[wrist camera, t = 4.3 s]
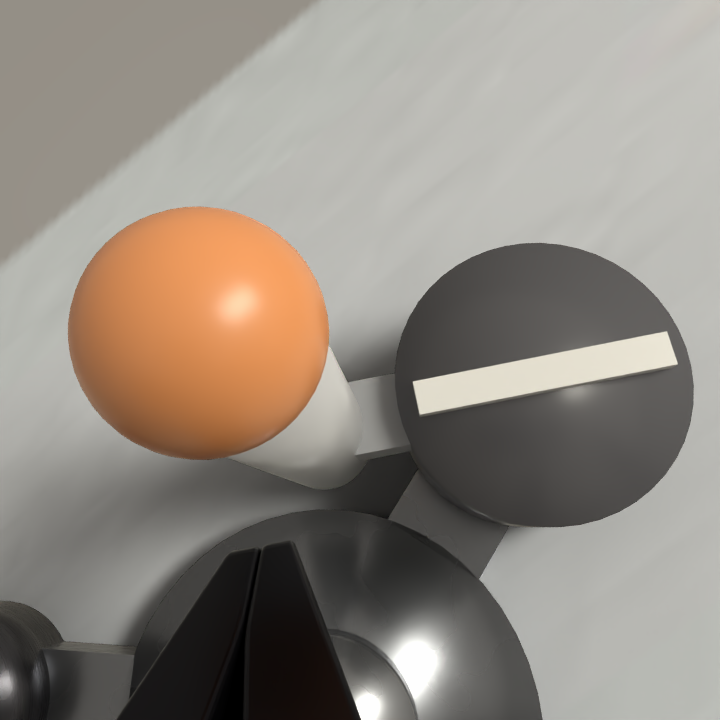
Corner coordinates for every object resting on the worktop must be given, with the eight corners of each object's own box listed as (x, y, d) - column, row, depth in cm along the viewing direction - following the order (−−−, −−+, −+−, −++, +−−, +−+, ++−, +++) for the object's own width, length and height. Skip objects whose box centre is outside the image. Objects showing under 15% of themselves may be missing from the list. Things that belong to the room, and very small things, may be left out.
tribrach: (547, 1389, 12) (581, 1616, 9) (-121, 710, 16) (-219, 744, 14) (933, 583, 15) (1037, 595, 12) (278, 193, 19) (257, 143, 17)
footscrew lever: (602, 272, 16) (908, -150, 6) (674, 501, 15) (1254, 445, 4) (256, 342, 17) (0, 54, 6) (288, 573, 15) (14, 672, 5)
